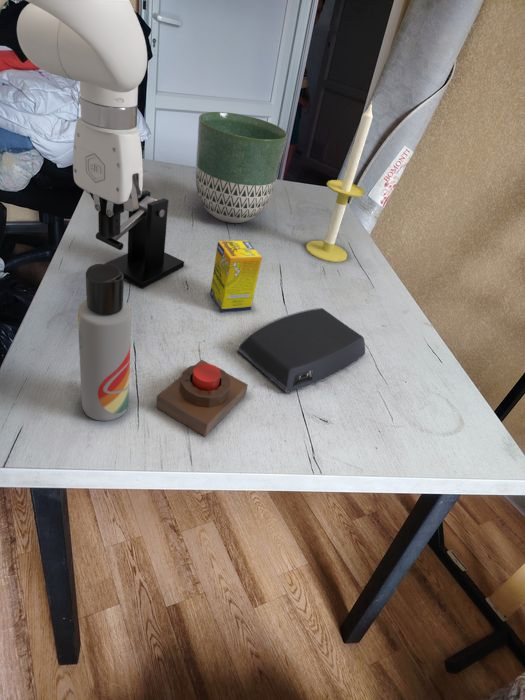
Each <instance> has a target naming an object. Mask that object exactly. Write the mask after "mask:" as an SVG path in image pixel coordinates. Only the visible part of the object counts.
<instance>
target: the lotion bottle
mask: <svg viewBox="0 0 525 700" xmlns="http://www.w3.org/2000/svg"><path fill="white" fill-rule="evenodd" d="M124 283H125V279H124V275H123V273H122V272H121V271H120V269H119V268H118V267H117V266H115V265H112V264H105V263H95V264H92V265H91V266H89V267H88V268H87V269H86V272H85V293H86V295H85V296H86V297H85V299H84V300H83V301H82V302H81V303H80V304H79V305H78V308H77V325H78V326H77V330H78V331H77V332H78V350H79V351H78V353H79V371H80V394H81V395H80V396H81V406H82V407H81V408H82V410H83V412H84V413H85V414H86V416H88V417H89V418H90V419H93V420H96V421H102V422H108V421H112V420H116V419H118V418H120V417H121V416H122V415H124V414H125V412H126V411H127V409H128V408H129V407H128V406H129V400H130V399H129V397H130V372H131V371H130V370H131V347H132V346H131V345H132V344H131V343H132V342H131V341H132V307H131V306H130V304H129V303H128V302H126V301H125V300H124V288H125V287H124Z"/></svg>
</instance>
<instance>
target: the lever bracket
mask: <svg viewBox="0 0 525 700" xmlns="http://www.w3.org/2000/svg"><path fill="white" fill-rule="evenodd" d="M147 196H149V197H151V191H149V190H147V189H145V190H142V194H141V197H140V198H138V203H139V202H141V201H142V200H143V199H144V198H145V197H147ZM156 200H157V201H154V202H151V203H148V205H147V218H145V217H144V218H143V219H141V220H140V221H139V222H138V223H137V224H136V225H134V226H133V227H132V228H131V229H130V230H129V231H128V232H127V233H128V234H127V253H126V254H123V255H121V256H118V257H116V258H114V259H112V260H110V261H107V262H105V263H104V264H112V265H115V266H117V267H118V268H119V269H120V271H121V272H122V273H123V275H124V281H126V282H128V283H131V284H133V285H134V286H136V287H138V288H140V289H141V290H142V289H144V288H146V287H149V286H150V285H153V284H154V283H157V282H158V281H160V280H161V279H162V280H163V278H165V277H167V276H169V275H171V274H173V273H175V272H177V271H178V270H181V269H182V268H185V260H182V259H180V258H178V257H176V256H173V255H171V254H169V253H167V252H165V251H166V250H165V249H166V239H167V238H166V237H167V224H168V211H169V210H168V209H169V199H167V198H165V197H164V198H161V199H156ZM138 210H139V209H138ZM138 210H135V211H128V219H129V218H130V217H131V216H132V215H134V214H135V213H136V212H137V211H138Z"/></svg>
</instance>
